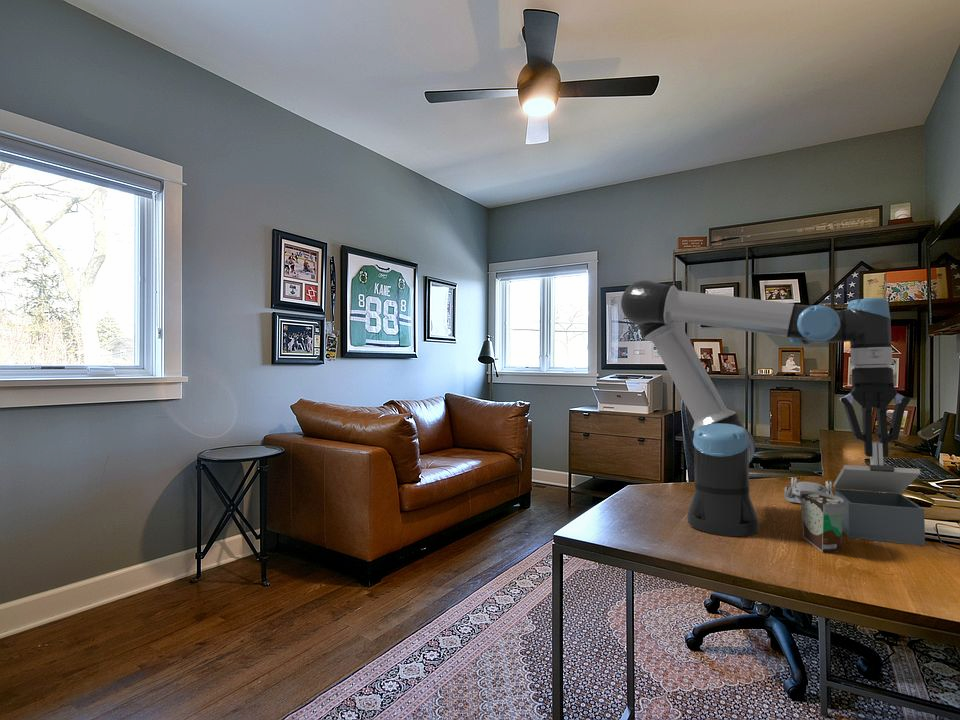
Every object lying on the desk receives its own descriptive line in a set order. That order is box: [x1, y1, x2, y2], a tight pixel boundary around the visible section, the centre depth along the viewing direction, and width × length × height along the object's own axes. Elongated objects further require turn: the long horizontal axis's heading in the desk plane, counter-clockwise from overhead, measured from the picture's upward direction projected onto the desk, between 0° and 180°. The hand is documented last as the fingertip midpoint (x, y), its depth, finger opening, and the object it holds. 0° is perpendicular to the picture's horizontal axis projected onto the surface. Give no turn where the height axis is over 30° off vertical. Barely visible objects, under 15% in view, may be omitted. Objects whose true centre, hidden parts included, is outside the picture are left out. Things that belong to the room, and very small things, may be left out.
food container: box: [800, 491, 847, 554], centre depth 107 cm, size 12×6×10 cm, turn 168°
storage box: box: [833, 488, 926, 546], centre depth 115 cm, size 13×14×8 cm
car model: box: [784, 477, 834, 505], centre depth 146 cm, size 11×24×5 cm, turn 144°
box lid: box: [832, 464, 921, 494], centre depth 116 cm, size 13×15×1 cm
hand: (877, 471), depth 116 cm, fingers closed
